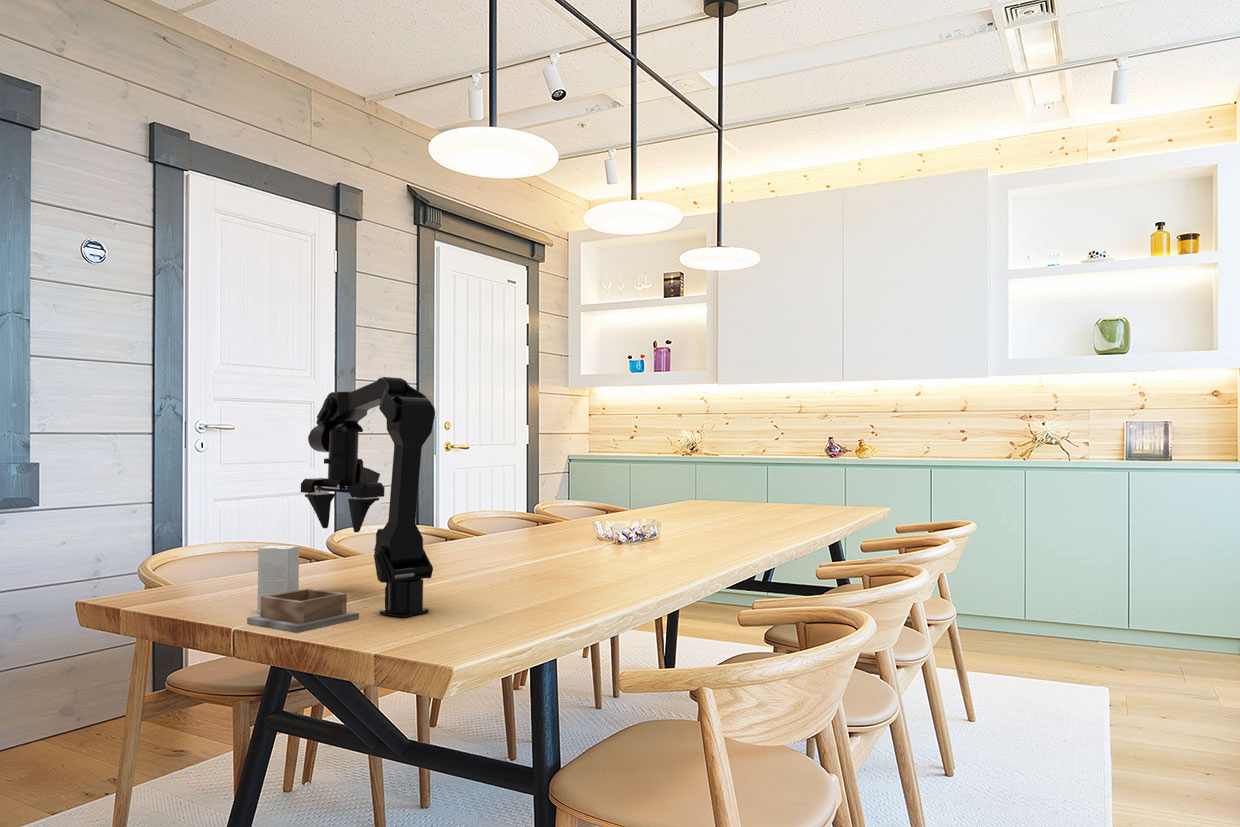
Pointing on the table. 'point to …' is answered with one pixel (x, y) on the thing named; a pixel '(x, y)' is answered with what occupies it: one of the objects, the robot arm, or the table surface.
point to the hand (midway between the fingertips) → (340, 530)
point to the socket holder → (303, 610)
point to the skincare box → (277, 570)
